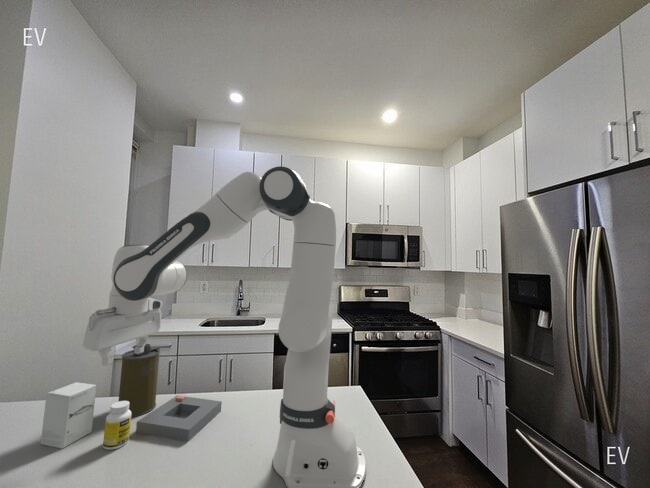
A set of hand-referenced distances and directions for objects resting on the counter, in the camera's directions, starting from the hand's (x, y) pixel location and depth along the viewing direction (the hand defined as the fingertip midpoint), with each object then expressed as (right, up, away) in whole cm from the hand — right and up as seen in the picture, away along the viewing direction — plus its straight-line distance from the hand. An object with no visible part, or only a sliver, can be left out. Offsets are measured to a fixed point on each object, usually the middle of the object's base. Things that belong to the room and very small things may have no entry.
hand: (124, 358), depth 74 cm
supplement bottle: (-1, -21, -2) cm, 22 cm away
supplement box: (-15, -21, 0) cm, 26 cm away
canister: (-7, -23, +16) cm, 28 cm away
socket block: (+10, -23, +9) cm, 26 cm away
